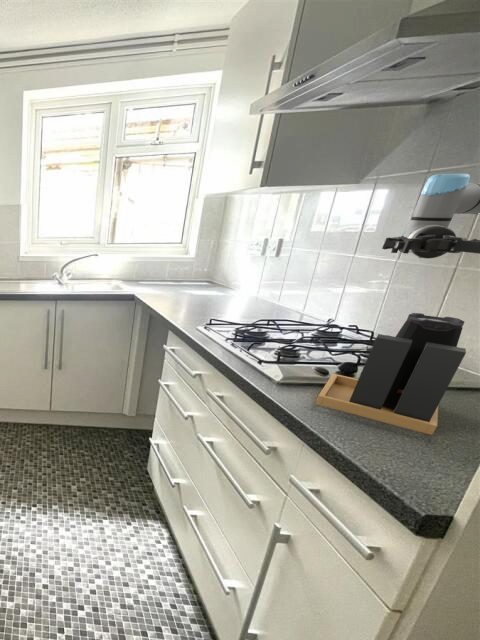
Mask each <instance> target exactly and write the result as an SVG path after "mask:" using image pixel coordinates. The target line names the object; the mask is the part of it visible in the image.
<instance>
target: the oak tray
mask: <svg viewBox="0 0 480 640" xmlns="http://www.w3.org/2000/svg"><path fill="white" fill-rule="evenodd" d="M358 380H359V378H355V377H350V376H345V375H341V374H337V373H332V375H331V376H330V378H329V379H328V381H327V382H326V384H325V385H324V386H323V388H322V389H321V391H320V393H319V394H318V396H317V398H316V401H315V405H318V406H320V407H321V406H322V407H325V408H329V409H333V410H337V411H341V412H345V413H348V414H351V415H355V416H360V417H363V418H367V419H369V420H374V421H378V422H381V423H385V424H388V425H393V426H396V427H400V428H404V429H407V430H411V431H415V432H419V433H422V434H426V435H430V436H433V435H434V433H435V431H436V429H437V427H438V421H439V419H438V418H439V417H438V416H439V406H438V407H437V409H436V410H435V412H434V414H433V416H432V418H431V420H430V422H426V421H422V420H419V419H415V418H411V417H407V416H403V415H399V414H395V413H393V412H394V410H395V408H396V407H392V406H389V405H385V404H384V405H383V406H382V408H381V410H379V409H375V408H372V407H368V406H364V405H360V404H356V403H352V402H349V401H350V398H351V396H352V394H353V391H354V389H355V387H356V384H357V382H358Z"/></svg>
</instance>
